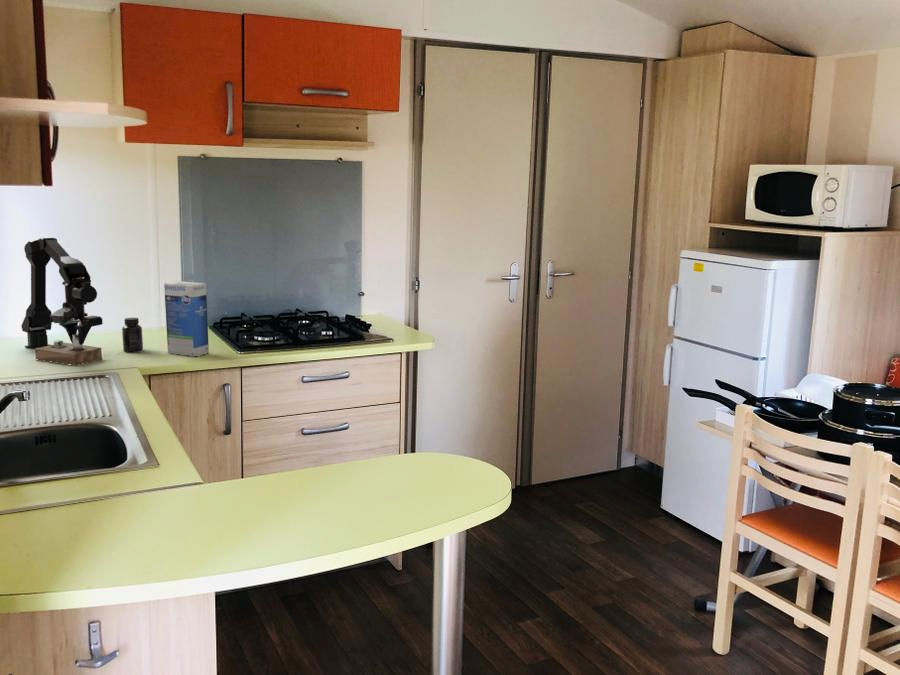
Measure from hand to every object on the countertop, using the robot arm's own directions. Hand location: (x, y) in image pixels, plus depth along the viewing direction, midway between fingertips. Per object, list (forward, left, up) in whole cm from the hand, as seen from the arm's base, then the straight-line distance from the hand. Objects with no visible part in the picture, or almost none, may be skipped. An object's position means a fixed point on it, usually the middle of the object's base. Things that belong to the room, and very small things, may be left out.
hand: (77, 343), depth 297 cm
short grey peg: (-9, 0, -6) cm, 11 cm away
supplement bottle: (+5, +21, -6) cm, 22 cm away
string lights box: (+25, +27, -6) cm, 37 cm away
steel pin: (0, 0, -5) cm, 5 cm away
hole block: (-4, 0, -6) cm, 7 cm away
